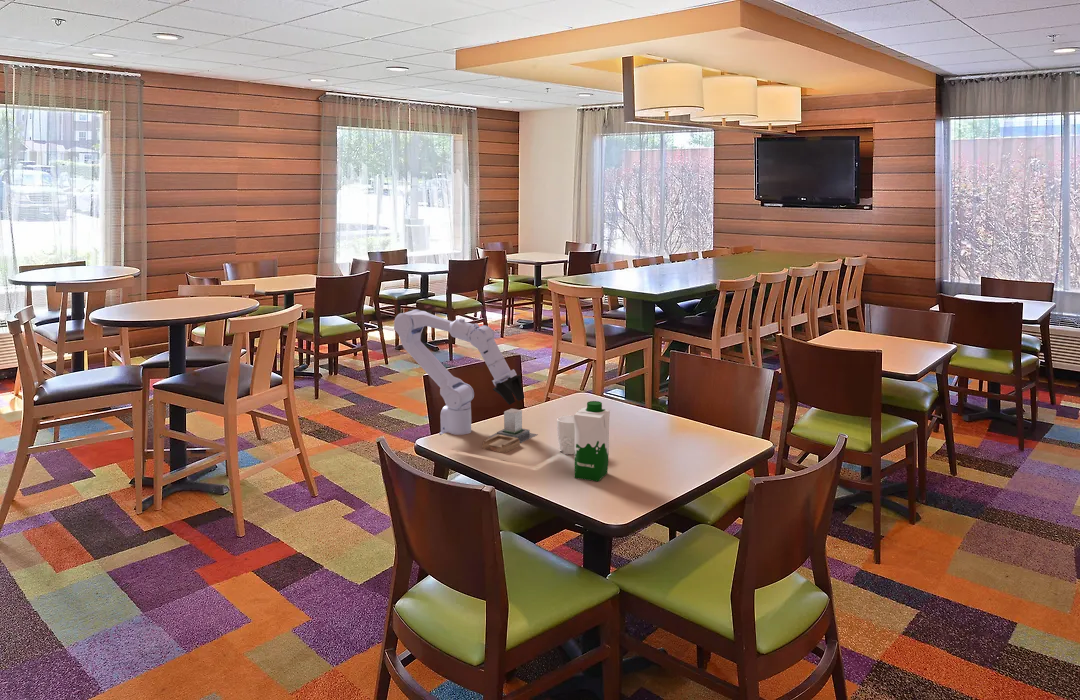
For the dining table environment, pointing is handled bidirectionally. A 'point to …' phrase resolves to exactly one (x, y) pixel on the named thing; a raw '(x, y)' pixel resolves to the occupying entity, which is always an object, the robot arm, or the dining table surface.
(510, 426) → the column
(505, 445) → the tray
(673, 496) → the dining table surface
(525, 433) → the stand base
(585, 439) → the milk carton
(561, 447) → the white cup
